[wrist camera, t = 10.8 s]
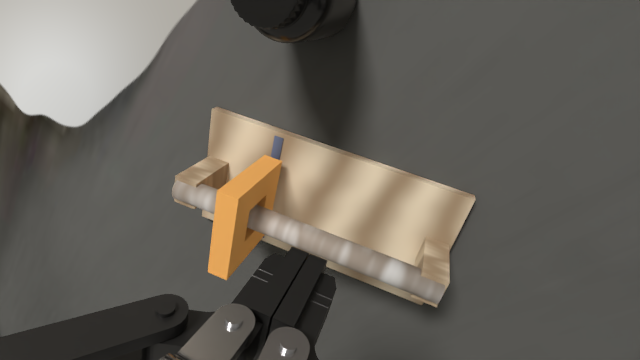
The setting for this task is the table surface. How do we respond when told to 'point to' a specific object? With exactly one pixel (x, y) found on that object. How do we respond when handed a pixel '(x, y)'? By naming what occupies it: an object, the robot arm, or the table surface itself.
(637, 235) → the table surface
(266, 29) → the supplement bottle
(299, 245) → the pipe stand
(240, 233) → the collar
